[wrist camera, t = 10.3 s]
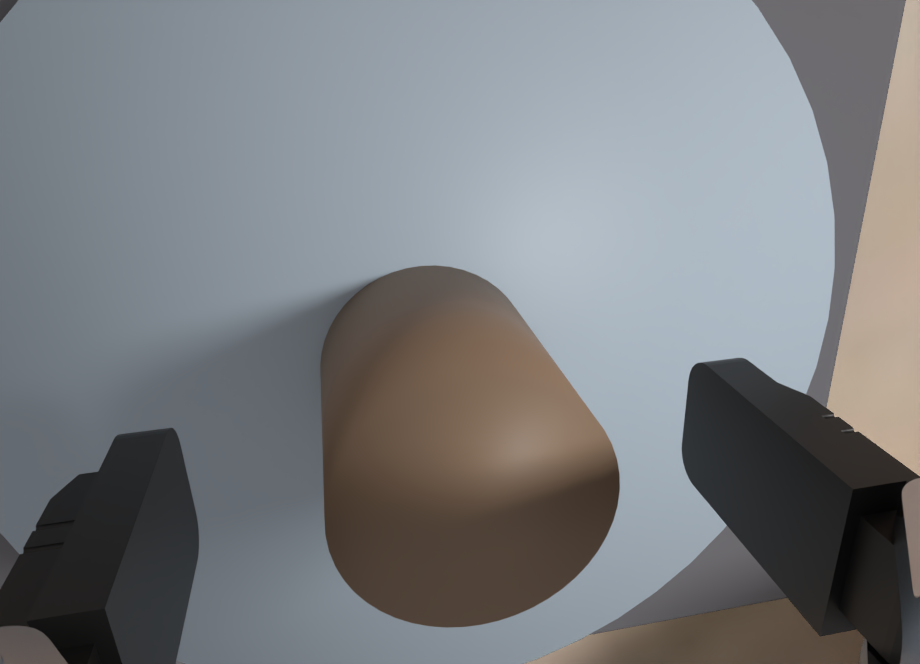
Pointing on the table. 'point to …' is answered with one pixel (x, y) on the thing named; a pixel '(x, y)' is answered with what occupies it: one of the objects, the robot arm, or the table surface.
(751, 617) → the table surface
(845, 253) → the mat
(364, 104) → the lid
